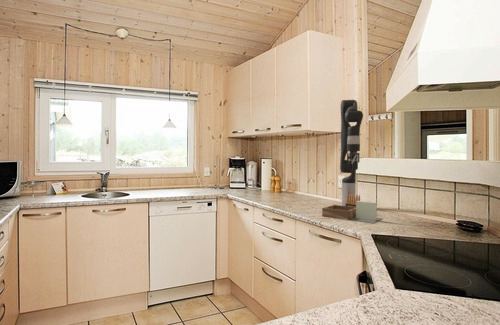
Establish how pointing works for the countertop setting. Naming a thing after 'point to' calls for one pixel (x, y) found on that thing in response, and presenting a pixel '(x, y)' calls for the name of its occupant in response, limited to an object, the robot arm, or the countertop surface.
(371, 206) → the pale green rectangular block
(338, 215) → the walnut box
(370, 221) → the rubber mat
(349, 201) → the ammunition clip
